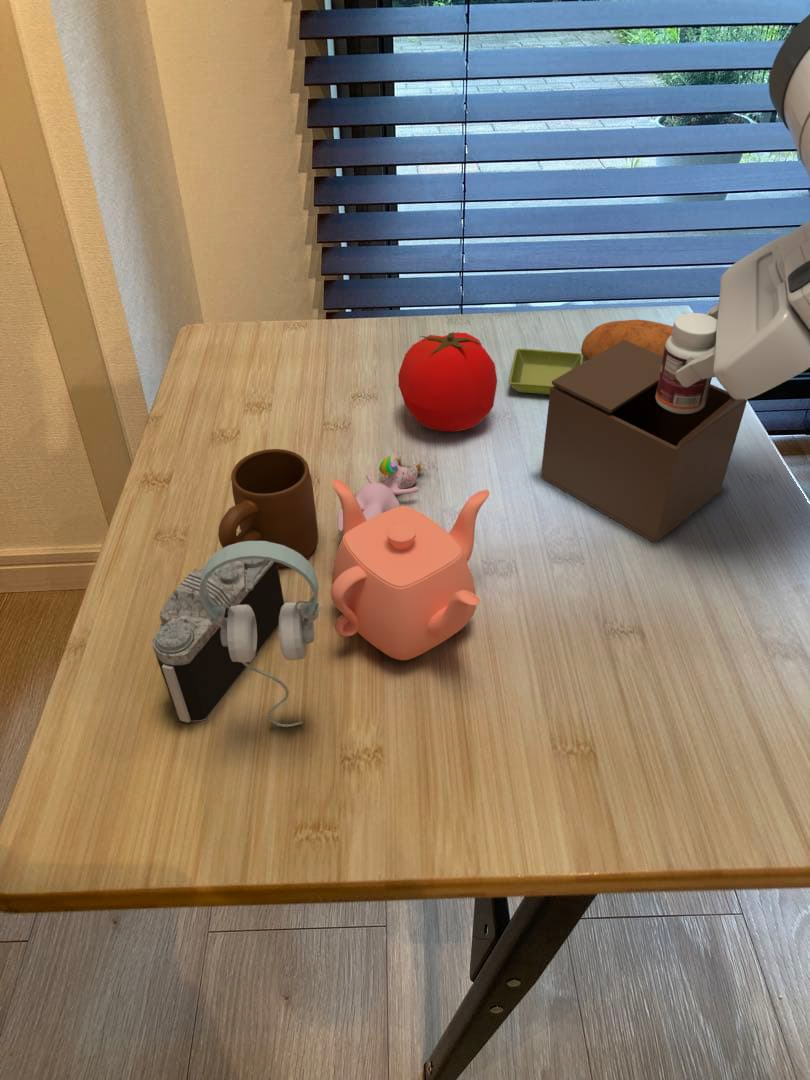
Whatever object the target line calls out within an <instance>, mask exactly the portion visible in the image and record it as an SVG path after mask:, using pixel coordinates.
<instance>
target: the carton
mask: <svg viewBox="0 0 810 1080" xmlns="http://www.w3.org/2000/svg"><path fill="white" fill-rule="evenodd" d="M662 360H663V356H661V355H658V354H656V353H654V352H651V351H649V350H647V349H644V348H642V347H640V346H637V345H635V344H633V343H630V342H628V341H626V340H623V341H621V342H619V343H617V344H616V345H614V346H612V347H610V348H609V349H607V350H605V351H603V352H602V353H600V354H598V355H596V356H595V357H593V358H591V359H590V360H586V361H583V362H582V364H581V365H579V366H577V367H576V368H574V369H572V370H570V371H569V372H567V373H565V374H563V375H562V376H560V377H558V378H557V379H555V380H553V381H552V385H554V386H553V387H551V388H550V395H549V396H548V407H547V416H546V423H545V436H544V443H543V453H542V463H541V470H540V471H541V472H540V478H541V479H543V480H544V481H546V482H548V483H549V484H551V485H553V486H554V487H556V488H558V489H560V490H561V491H563V492H565V493H567V494H568V495H571V496H572V497H574V498H576V499H577V500H579V501H581V502H583V503H584V504H586V505H588V506H589V507H591V508H593V509H595V510H596V511H598V512H600V513H602V514H603V515H605V516H607V517H608V518H609V519H612V520H614V521H616V522H617V523H619V524H620V525H622V526H625V527H626V528H628V529H630V530H631V531H633V532H634V533H637V534H638V535H640V536H642V537H644V538H645V539H647V540H648V541H650V542H652V543H654V544H656V543H657V542H659V541H660V540H661V539H662V538H664V537H665V536H666V535H667V534H668V533H670V532H671V531H673V530H674V529H675V528H676V527H678V526H679V525H680V524H681V523H682V522H684V521H685V520H686V519H688V518H689V517H690V516H691V515H692V514H694V513H695V512H696V511H698V510H699V509H700V508H701V507H703V506H704V505H705V504H707V503H708V502H709V501H710V500H711V499H713V498H714V497H715V496H716V495H718V494H719V493H720V492H721V491H722V488H723V484H724V481H725V477H726V474H727V471H728V467H729V464H730V461H731V457H732V453H733V450H734V447H735V444H736V440H737V436H738V433H739V430H740V426H741V423H742V419H743V416H744V413H745V410H746V406H747V403H748V399H746V400H744V401H743V402H742V403H740V404H739V405H737V406H736V407H735V408H733V409H732V410H730V411H729V412H728V413H726V414H725V415H723V416H722V417H721V418H719V419H718V420H716V421H715V422H714V423H712V424H711V425H709V426H708V427H707V428H705V429H704V430H702V431H701V432H700V433H698V434H697V435H696V436H694V437H693V438H691V439H690V440H689V441H687V442H686V443H684V444H683V445H682V446H680V444H679V443H678V442H679V441H681V440H682V439H683V438H684V437H685V436H687V435H688V434H689V433H690V432H691V431H693V430H694V429H695V428H696V427H697V426H698V425H700V424H701V423H702V422H703V421H704V420H706V419H707V418H708V417H709V416H710V415H712V414H713V413H714V412H715V411H716V410H718V409H719V408H720V407H721V406H722V405H724V404H725V403H726V402H727V401H728V400H730V399H731V398H732V397H731V396H730V394H729V393H728V392H727V391H726V390H725V389H724V388H721V387H718V386H716V385H713V384H712V383H710V388H709V392H708V397H707V400H706V403H705V406H704V407H703V408H702V409H701V410H699V411H697V412H694V413H690V414H678V413H673V412H670V411H668V410H666V409H664V408H662V407H661V406H660V405H659V404H658V403H657V401H656V398H655V396H656V391H657V386H658V380H659V376H660V370H661V365H662Z"/></svg>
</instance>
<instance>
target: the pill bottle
mask: <svg viewBox="0 0 810 1080" xmlns="http://www.w3.org/2000/svg"><path fill="white" fill-rule="evenodd" d="M672 326H673V329H672V335H671V336H670V337H669V338H668V340H667V341H666V344H665V348H664V355H663V360H662V365H661V370H660V376H659V380H658V386H657V391H656V396H655V398H656V401H657V403H658V404H659V405H660V406H661V407H662V408H664V409H666V410H668V411H670V412H673V413H678V414H690V413H694V412H697V411H699V410H701V409H702V408H703V407H704V406H705V403H706V400H707V397H708V392H709V388H710V384H712V379H713V377H712V378H707V379H701V380H699V381H698V382H696V383H694V384H692V385H691V386H689V387H684V386H682V385H681V383H680V382H679V381H678V380H677V378H676V370H677V366H678V365H679V364H680V363H683V362H684V361H685V360H687V359H689V358H690V357H692V358H693V359H697V358H699V357H702V356H704V355H707V351H708V350H710V349H711V348H713V347H715V344H716V331H717V320H716V319H715V318H713V317H711V316H709V315H706V313H701V312H686V313H683V314H679V315H678V316H676V318H674V321H673V325H672Z"/></svg>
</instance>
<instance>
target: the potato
mask: <svg viewBox="0 0 810 1080" xmlns="http://www.w3.org/2000/svg"><path fill="white" fill-rule="evenodd" d="M672 329H673V325H670V324H666V323H661V322H657V321H651V320H646V319H625V320H614V321H609V322H604V323H602V324H600V325H598V326H596V327H595V328H594V329H592V330H591V331H590V332H589V333H588V334H586V336H585V337H584V339H583V341H582V343H581V348H580V352H581V353H580V354H583V359H585V360H586V361H588V360H590V359H591V358H593V357H595V356H596V355H598V354H600V353H602V352H603V351H605V350H607V349H609V348H610V347H612V346H614V345H616V344H617V343H619V342H621V341H623V340H626V341H628V342H630V343H633V344H635V345H637V346H640V347H642V348H644V349H647V350H649V351H651V352H654V353H656V354H658V355H661V356H663V355H664V348H665V344H666V341H667V340H668V338H669V337H670V336H671V335H672Z"/></svg>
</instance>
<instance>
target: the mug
mask: <svg viewBox="0 0 810 1080" xmlns="http://www.w3.org/2000/svg"><path fill="white" fill-rule="evenodd" d="M230 480H231V490H232V496H233V497H232V498H233V502H234V505H233V506H231V507H230V508H228V510H227V511H226V512H225V513H224V515H223V517H222V518H221V520H220V522H219V526H218V533H217V534H218V535H217V536H218V541H219V544H220V546H221V547H222V549H223V548H225V547H227V546H228V545H232V544H235V543H239V542H245V541H267V542H271V543H276V544H280V545H284V546H286V547H288V548H290V549H293V550H294V551H296V552H298V553H299V554H301V555H302V556H303V557H304V558H305V559H306V560H307V558H309V557H310V556H311V555H312V554H313V552H314V551H315V549H316V547H317V546H318V542H319V541H318V540H319V528H318V521H317V511H316V503H315V494H314V487H313V480H312V476H311V472H310V467H309V464H308V462H307V460H306V459H305V458H304V457H303V456H302V455H300V454H299V453H297V452H295V451H291V450H289V449H283V448H282V449H281V448H268V449H267V448H266V449H262V450H258V451H255V452H253V453H250V454H247V455H246V456H244V457H243V458H241V459H240V460H238V462H237V463H236V464H235V465H234V467H233V469H232V470H231V474H230ZM238 528H239V530H240V532H239V533H237V531H238ZM277 565H278V568H287V566H286V565H284V564H281V563H278V562H277Z"/></svg>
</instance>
